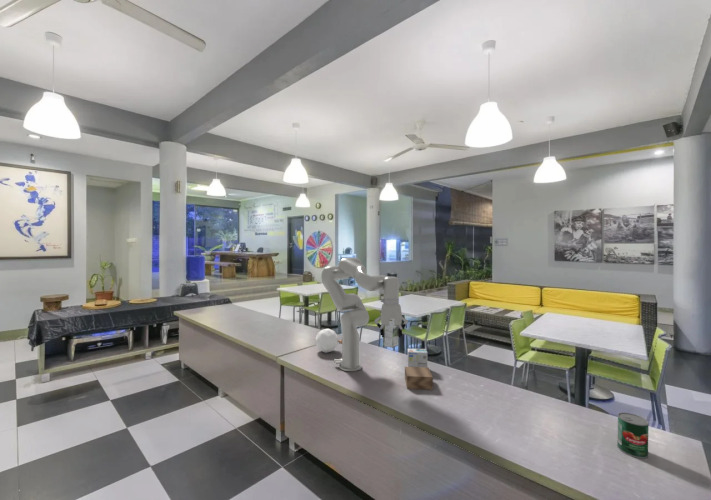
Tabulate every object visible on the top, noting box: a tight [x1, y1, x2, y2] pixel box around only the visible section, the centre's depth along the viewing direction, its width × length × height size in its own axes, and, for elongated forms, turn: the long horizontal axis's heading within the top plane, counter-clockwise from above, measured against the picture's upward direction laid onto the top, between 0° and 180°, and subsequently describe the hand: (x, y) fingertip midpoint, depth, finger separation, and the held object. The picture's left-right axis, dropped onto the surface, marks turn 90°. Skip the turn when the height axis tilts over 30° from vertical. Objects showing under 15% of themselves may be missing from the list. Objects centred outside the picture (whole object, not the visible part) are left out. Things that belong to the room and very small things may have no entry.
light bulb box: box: [407, 348, 428, 367], centre depth 177 cm, size 11×7×11 cm, turn 84°
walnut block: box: [404, 366, 434, 390], centre depth 159 cm, size 12×12×6 cm
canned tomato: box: [616, 411, 650, 459], centre depth 108 cm, size 8×8×11 cm
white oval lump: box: [314, 328, 342, 354], centre depth 206 cm, size 14×15×20 cm
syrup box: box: [382, 318, 399, 349], centre depth 159 cm, size 6×6×14 cm
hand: (391, 336), depth 159 cm, fingers closed on syrup box, 8 cm apart
